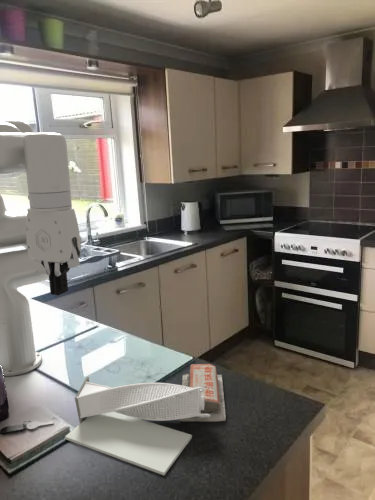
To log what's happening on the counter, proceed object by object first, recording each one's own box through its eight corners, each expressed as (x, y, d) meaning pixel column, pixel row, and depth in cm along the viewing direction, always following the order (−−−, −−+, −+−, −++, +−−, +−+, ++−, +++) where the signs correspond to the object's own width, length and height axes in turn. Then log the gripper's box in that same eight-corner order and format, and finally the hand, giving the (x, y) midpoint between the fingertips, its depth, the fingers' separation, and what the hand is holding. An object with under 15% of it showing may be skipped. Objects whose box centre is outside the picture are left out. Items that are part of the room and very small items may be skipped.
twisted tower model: (77, 430, 86) (211, 435, 82) (71, 398, 84) (209, 401, 80) (91, 402, 94) (213, 405, 90) (85, 372, 91) (211, 374, 88)
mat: (65, 439, 83) (64, 436, 83) (100, 409, 93) (99, 406, 92) (164, 475, 73) (164, 472, 73) (191, 437, 82) (191, 435, 82)
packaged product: (182, 361, 104) (221, 361, 104) (182, 378, 105) (221, 378, 105) (178, 403, 86) (226, 403, 86) (179, 424, 87) (226, 424, 87)
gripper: (6, 201, 78) (17, 293, 82) (66, 205, 71) (75, 305, 76) (36, 197, 84) (45, 282, 89) (95, 200, 78) (101, 292, 82)
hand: (59, 292), depth 82 cm, fingers closed
